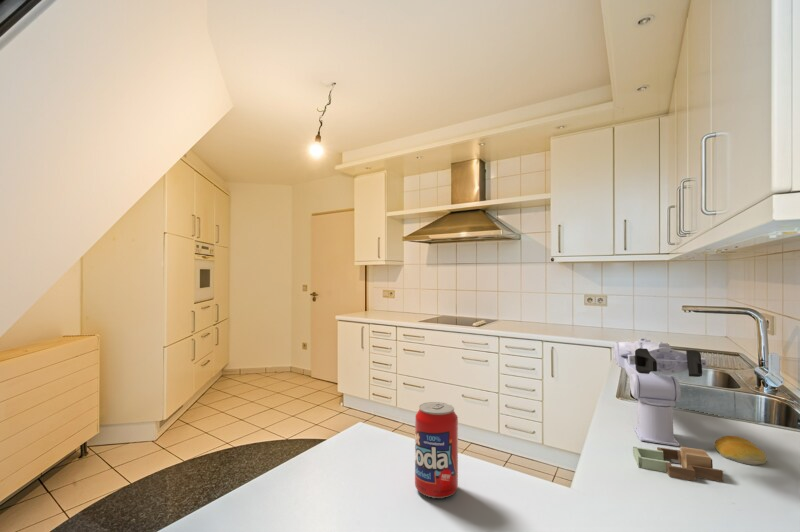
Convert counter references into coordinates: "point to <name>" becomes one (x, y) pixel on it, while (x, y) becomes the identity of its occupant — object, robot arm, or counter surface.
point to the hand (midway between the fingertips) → (676, 367)
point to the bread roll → (740, 450)
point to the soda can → (436, 450)
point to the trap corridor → (663, 460)
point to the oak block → (694, 457)
